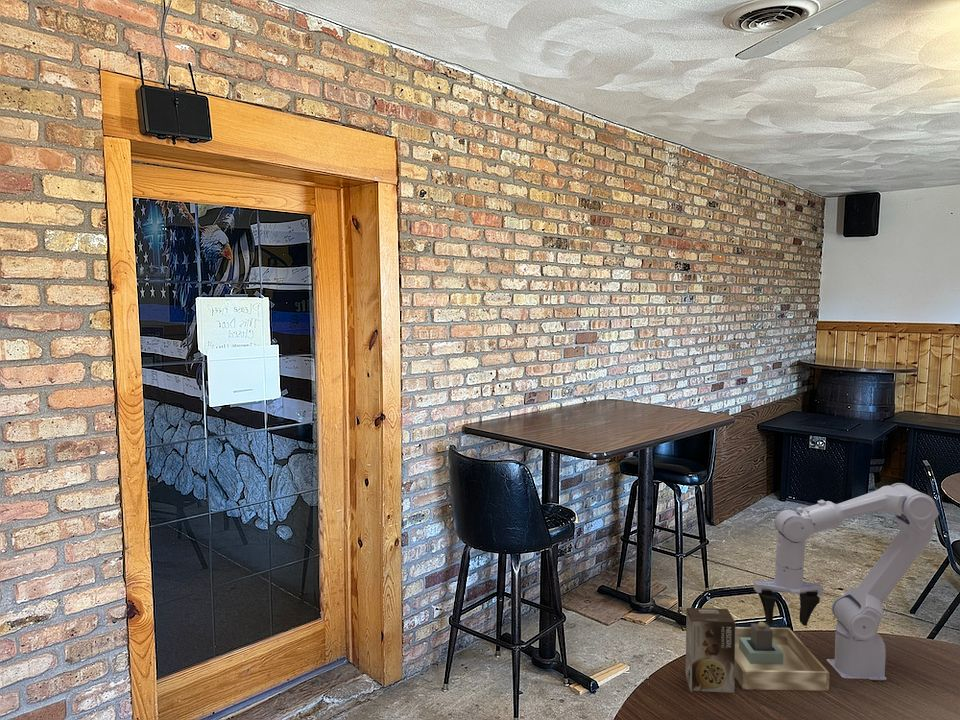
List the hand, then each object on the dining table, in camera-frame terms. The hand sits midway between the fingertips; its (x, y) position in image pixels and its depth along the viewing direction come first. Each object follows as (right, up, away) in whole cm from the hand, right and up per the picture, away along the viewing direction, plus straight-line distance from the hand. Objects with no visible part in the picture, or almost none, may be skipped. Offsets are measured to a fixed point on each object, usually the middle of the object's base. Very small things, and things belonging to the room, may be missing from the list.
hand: (786, 623), depth 151 cm
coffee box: (-20, -11, -7) cm, 24 cm away
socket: (-4, -10, +5) cm, 12 cm away
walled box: (-4, -10, +1) cm, 11 cm away
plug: (-4, -10, +5) cm, 11 cm away
